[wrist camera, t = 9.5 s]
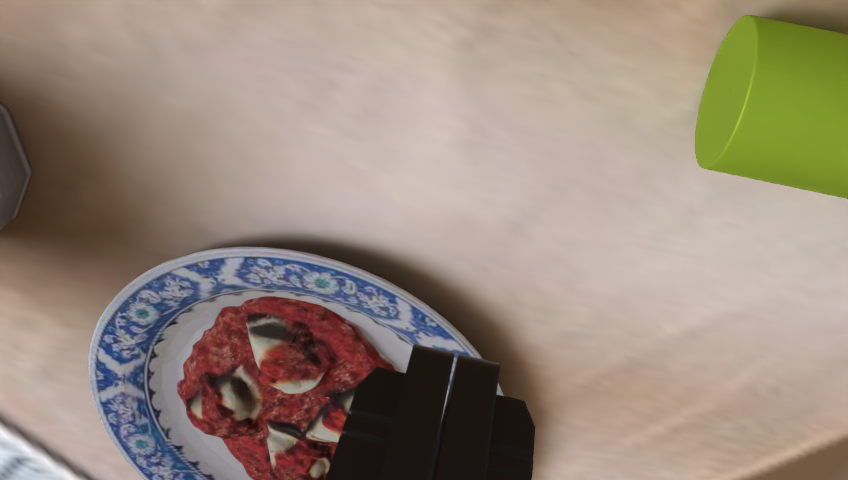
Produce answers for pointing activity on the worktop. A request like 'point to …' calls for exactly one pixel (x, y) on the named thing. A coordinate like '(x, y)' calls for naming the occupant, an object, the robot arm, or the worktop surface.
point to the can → (11, 169)
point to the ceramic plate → (249, 361)
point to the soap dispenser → (778, 106)
